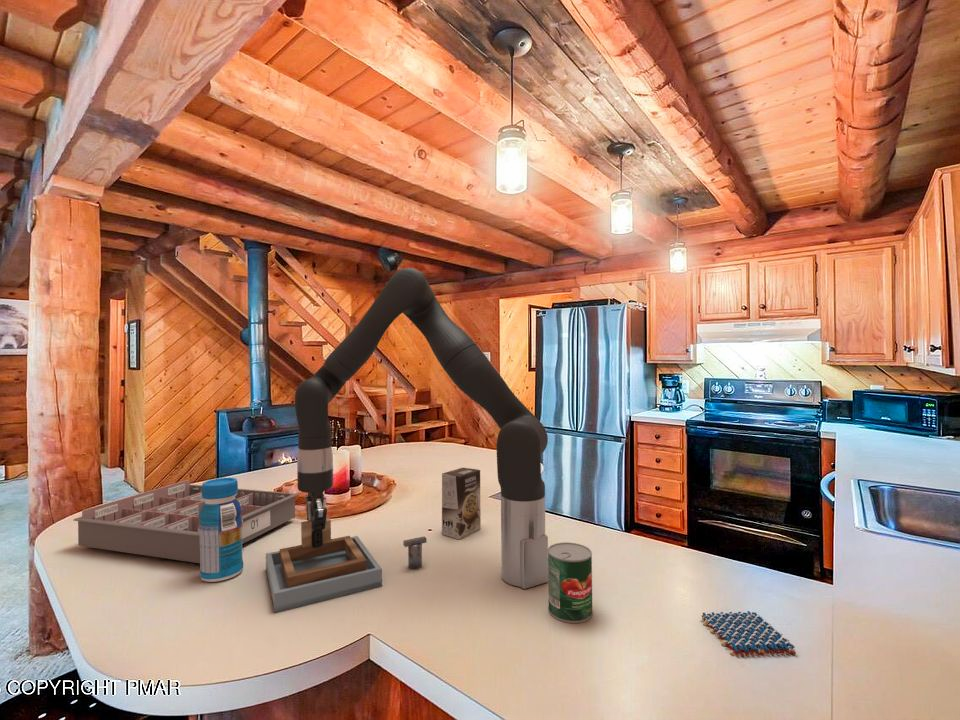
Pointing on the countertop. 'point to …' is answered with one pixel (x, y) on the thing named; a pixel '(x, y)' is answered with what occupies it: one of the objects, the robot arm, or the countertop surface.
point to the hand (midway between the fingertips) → (316, 544)
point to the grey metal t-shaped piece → (415, 552)
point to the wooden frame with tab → (329, 546)
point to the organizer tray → (174, 520)
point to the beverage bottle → (220, 530)
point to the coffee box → (461, 502)
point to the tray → (324, 588)
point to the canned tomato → (570, 582)
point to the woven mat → (747, 634)
